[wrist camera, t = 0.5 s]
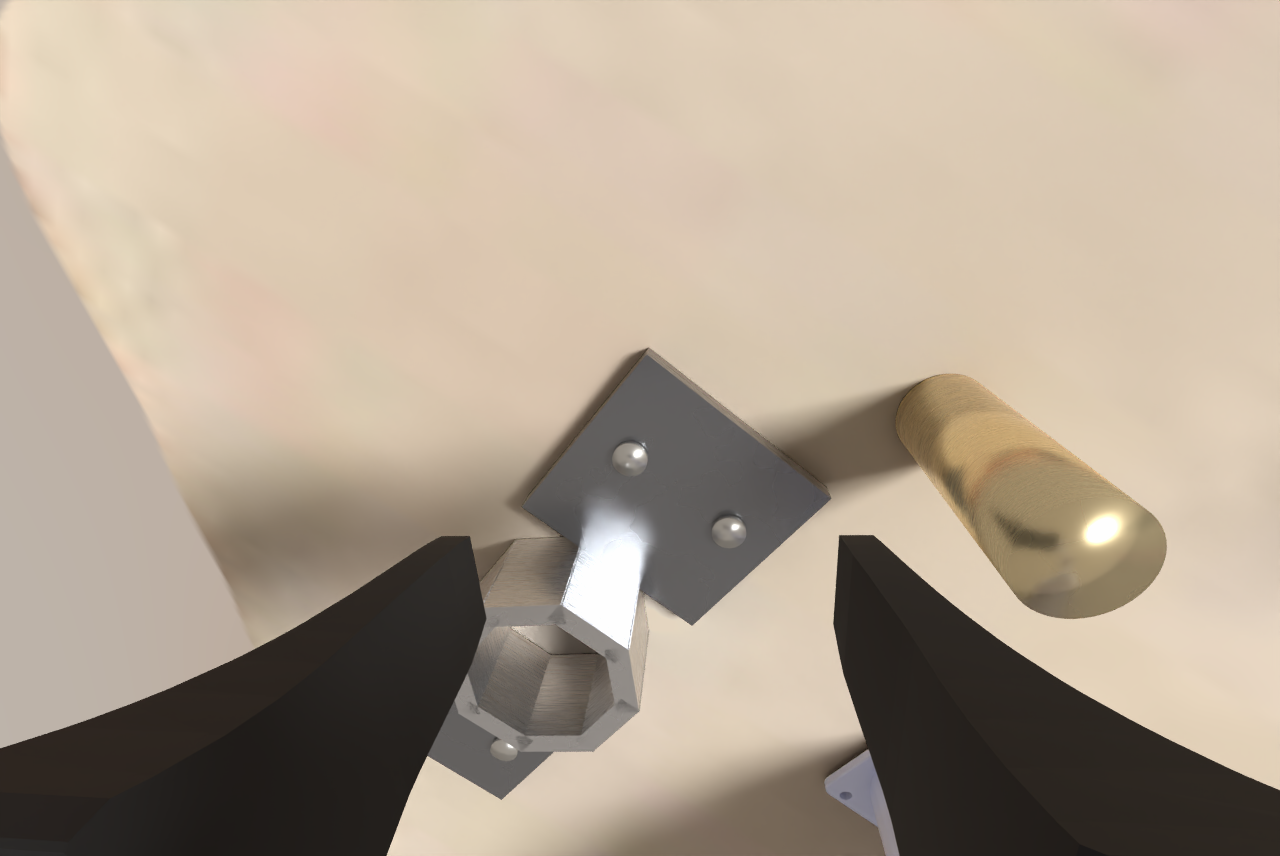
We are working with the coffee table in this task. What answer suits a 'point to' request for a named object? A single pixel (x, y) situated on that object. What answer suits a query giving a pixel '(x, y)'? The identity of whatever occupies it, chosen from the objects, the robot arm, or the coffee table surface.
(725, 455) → the hinge
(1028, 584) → the hinge pin
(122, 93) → the coffee table surface
